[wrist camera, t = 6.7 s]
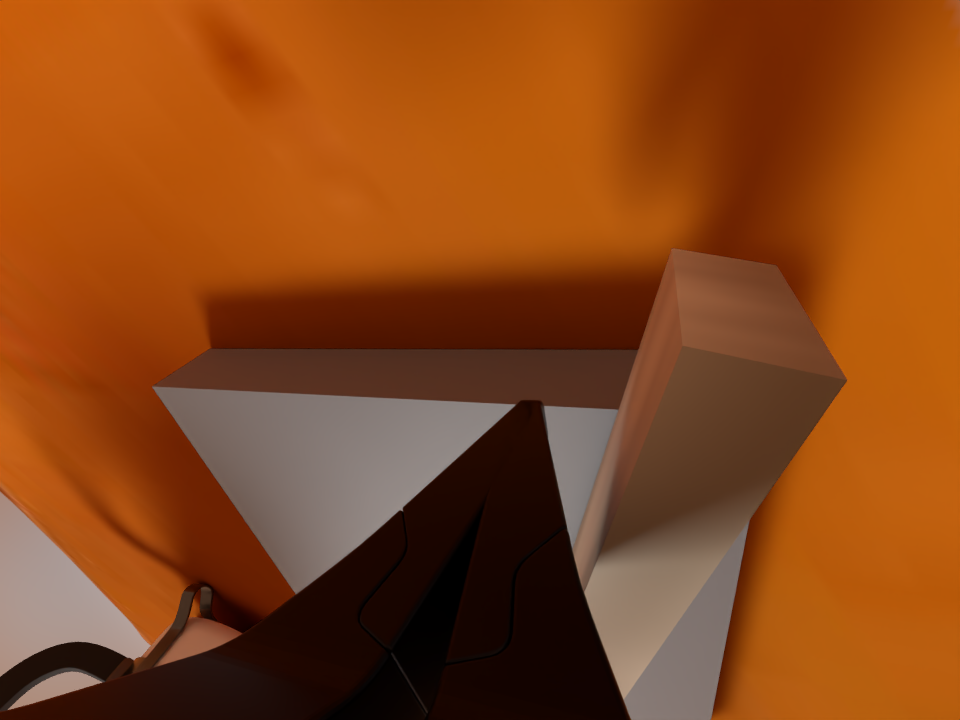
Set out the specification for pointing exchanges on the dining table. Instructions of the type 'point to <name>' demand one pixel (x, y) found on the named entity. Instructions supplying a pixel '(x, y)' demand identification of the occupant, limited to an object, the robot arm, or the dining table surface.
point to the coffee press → (108, 665)
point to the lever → (696, 444)
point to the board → (418, 461)
